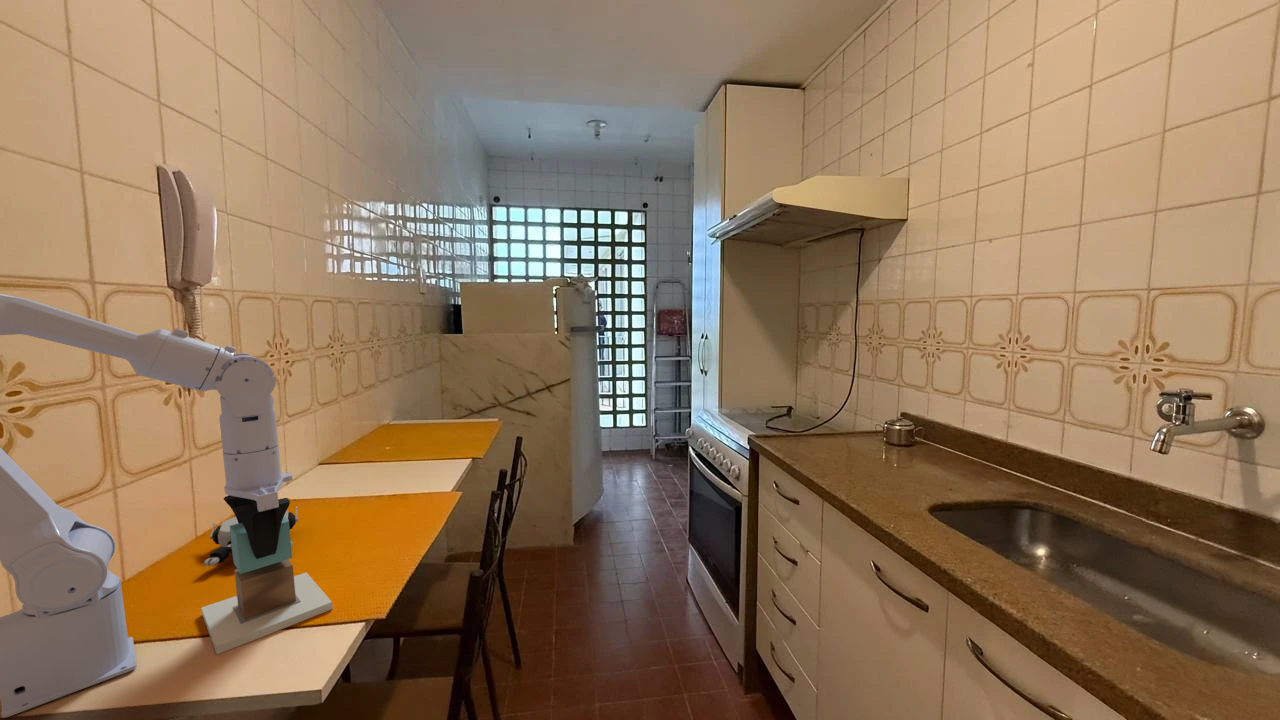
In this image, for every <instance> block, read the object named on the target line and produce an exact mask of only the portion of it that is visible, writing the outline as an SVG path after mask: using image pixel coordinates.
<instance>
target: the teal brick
mask: <svg viewBox="0 0 1280 720" xmlns="http://www.w3.org/2000/svg"><path fill="white" fill-rule="evenodd" d="M230 534H231V543H232V550H231V554H232V553H233V556H232V561H233V564H234V566H235V568H236V569H238V571H239V573H240V574H242V573H245V572H249V571H252V570H255V569H258V568H261V567H265V566H268V565H271V564H274V563H277V562H281V561H284V560H287V559H288V560H290V559H293V551H292V547H291V542H292V540H291V539H292V538H291V529H290V528H289V521H288V520H287V519H286V518H285V517H283V520H282V523H281V527H280V533H279V540H278V546H277V550H276V553H275V554H273V555H269V556H266V557H263V558H259V559H256V557H255V556H254V554H253V551H252V549H251V546H250V542H249V539H248V535H247V533H246V530H245V528H244V526H243V524H242V523H239V524H235V525H231V526H230Z"/></svg>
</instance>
